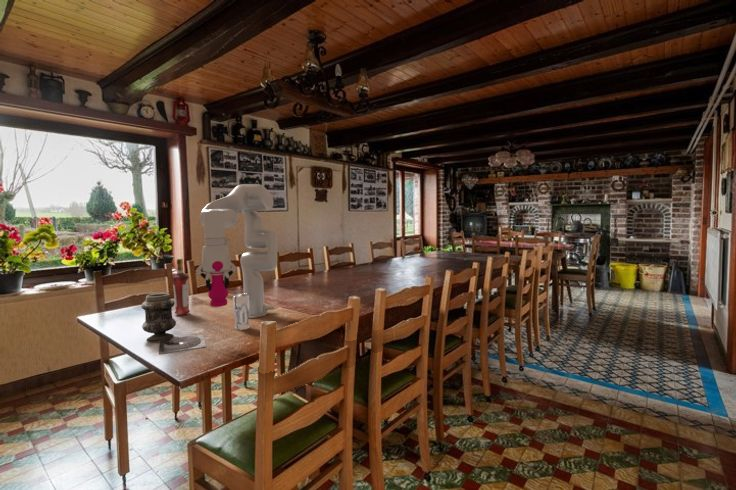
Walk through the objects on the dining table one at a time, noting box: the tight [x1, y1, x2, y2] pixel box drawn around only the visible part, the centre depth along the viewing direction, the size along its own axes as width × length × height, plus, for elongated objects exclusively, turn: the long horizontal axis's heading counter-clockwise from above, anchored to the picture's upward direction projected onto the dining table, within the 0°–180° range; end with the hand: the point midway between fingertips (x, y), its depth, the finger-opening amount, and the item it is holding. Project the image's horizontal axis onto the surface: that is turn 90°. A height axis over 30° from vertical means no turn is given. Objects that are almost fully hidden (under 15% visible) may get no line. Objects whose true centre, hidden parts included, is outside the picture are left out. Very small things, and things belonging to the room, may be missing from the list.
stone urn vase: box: [141, 292, 177, 343], centre depth 157 cm, size 12×12×18 cm
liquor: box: [171, 258, 191, 317], centre depth 193 cm, size 7×7×28 cm
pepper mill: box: [208, 261, 229, 308], centre depth 150 cm, size 7×7×20 cm
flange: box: [158, 334, 207, 355], centre depth 151 cm, size 16×16×1 cm
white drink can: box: [232, 292, 250, 331], centre depth 170 cm, size 7×7×15 cm
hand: (217, 288), depth 150 cm, fingers closed on pepper mill, 5 cm apart
